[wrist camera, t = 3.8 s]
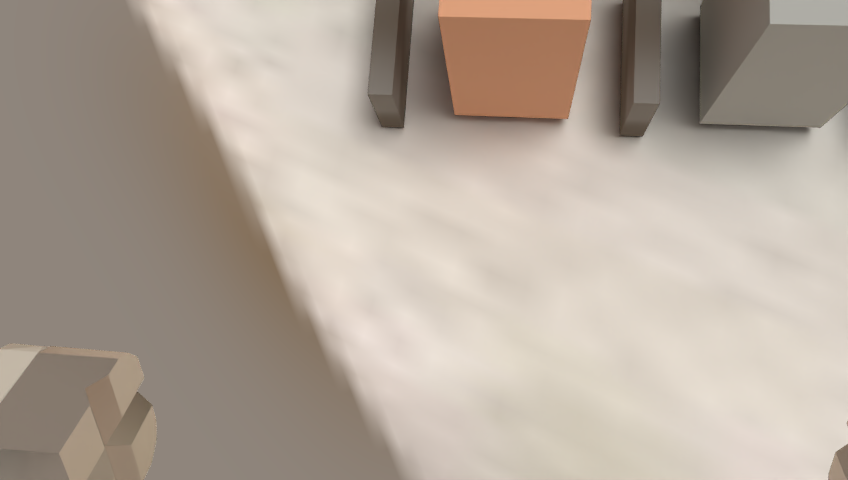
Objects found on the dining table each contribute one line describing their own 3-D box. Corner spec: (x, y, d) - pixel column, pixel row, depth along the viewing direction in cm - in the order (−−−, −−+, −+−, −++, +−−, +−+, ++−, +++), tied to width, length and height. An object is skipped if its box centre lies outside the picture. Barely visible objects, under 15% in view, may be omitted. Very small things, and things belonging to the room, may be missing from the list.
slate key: (820, 127, 28) (936, 27, 20) (699, 123, 28) (770, 24, 21) (817, 8, 29) (928, -130, 21) (700, 5, 29) (768, -131, 22)
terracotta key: (568, 118, 29) (590, 19, 21) (454, 114, 29) (438, 16, 22) (572, 3, 29) (596, -131, 22) (462, 1, 30) (448, -132, 22)
